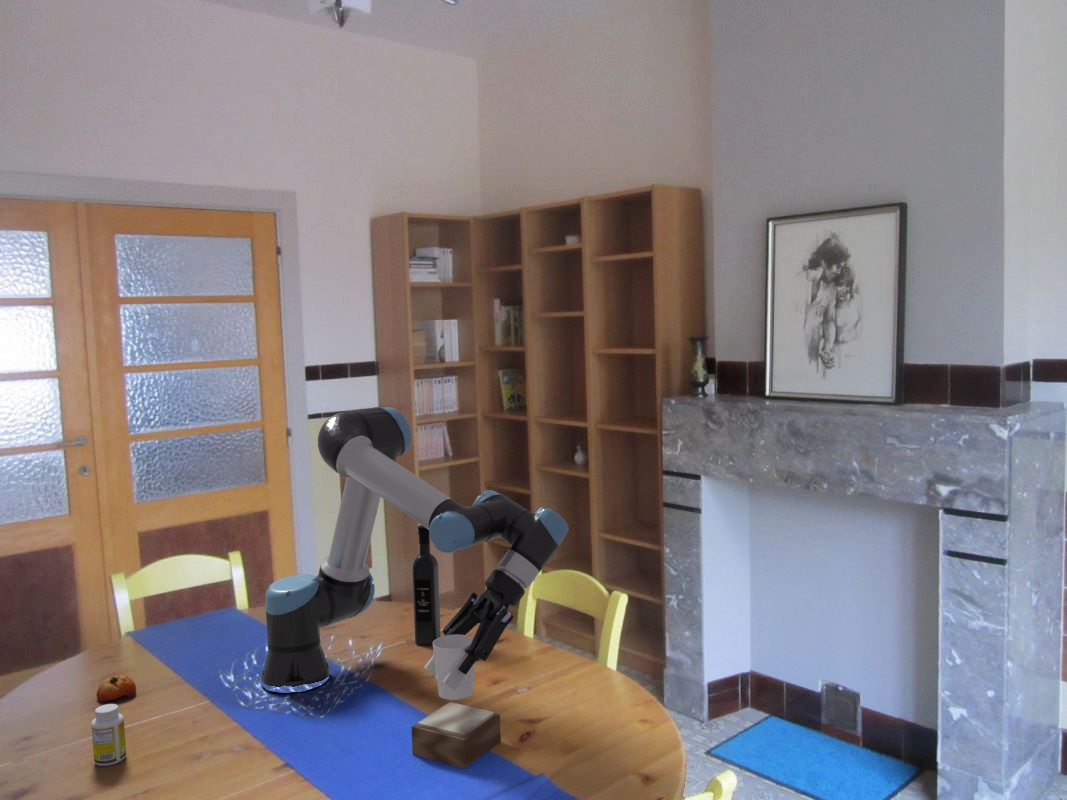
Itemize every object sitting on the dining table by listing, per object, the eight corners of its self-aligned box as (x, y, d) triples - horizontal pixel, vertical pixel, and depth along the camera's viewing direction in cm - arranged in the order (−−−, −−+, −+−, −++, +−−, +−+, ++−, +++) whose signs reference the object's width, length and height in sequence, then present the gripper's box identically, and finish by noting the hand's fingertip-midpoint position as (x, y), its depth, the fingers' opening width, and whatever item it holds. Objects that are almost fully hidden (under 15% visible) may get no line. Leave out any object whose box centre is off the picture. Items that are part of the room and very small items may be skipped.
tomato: (84, 694, 197) (106, 663, 200) (106, 704, 202) (127, 675, 205) (105, 707, 193) (127, 676, 196) (127, 717, 198) (148, 687, 201)
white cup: (470, 702, 164) (468, 649, 163) (429, 700, 166) (427, 648, 165) (481, 685, 172) (479, 635, 171) (442, 683, 173) (439, 633, 173)
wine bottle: (435, 646, 224) (431, 528, 222) (414, 645, 225) (409, 528, 223) (441, 638, 230) (437, 523, 228) (420, 637, 231) (416, 523, 229)
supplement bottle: (118, 750, 173) (114, 699, 172) (131, 758, 169) (128, 706, 168) (88, 761, 168) (85, 709, 168) (102, 770, 165) (98, 717, 164)
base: (412, 754, 168) (411, 723, 167) (449, 728, 178) (448, 699, 177) (465, 769, 162) (464, 737, 161) (500, 741, 172) (499, 711, 171)
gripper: (550, 603, 166) (476, 708, 160) (498, 578, 184) (429, 672, 177) (525, 580, 163) (448, 686, 156) (474, 557, 181) (403, 651, 174)
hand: (438, 678), depth 167 cm, fingers closed on white cup, 8 cm apart
